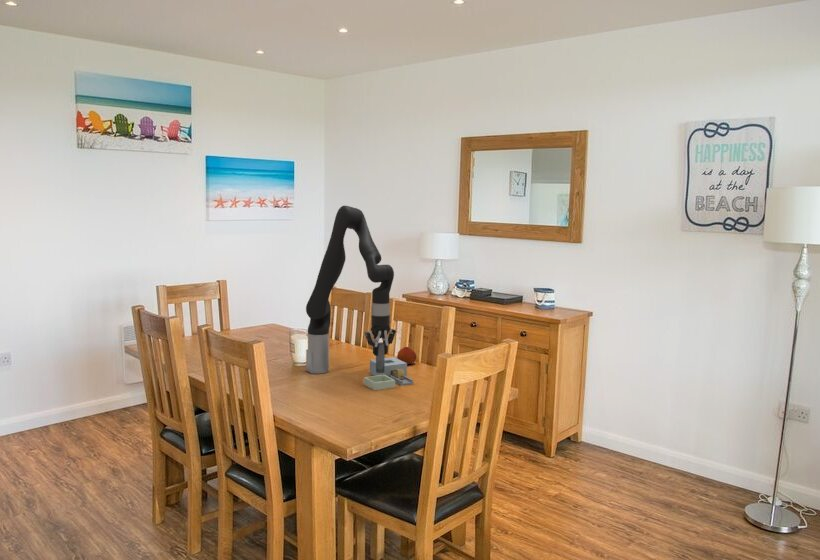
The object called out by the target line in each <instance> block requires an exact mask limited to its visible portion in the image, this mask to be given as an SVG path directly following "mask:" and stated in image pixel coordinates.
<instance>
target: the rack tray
mask: <svg viewBox="0 0 820 560" xmlns="http://www.w3.org/2000/svg"><path fill="white" fill-rule="evenodd" d="M363 385H364V386H366V387H368V388H369V389H371V390H372V391H380V390H386V389H393V388H396V383H395V380H394V379H392V378H390V377H388V376H386V375H377V376H374V375H371V376H364V377H363Z"/></svg>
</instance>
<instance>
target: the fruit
mask: <svg viewBox="0 0 820 560" xmlns="http://www.w3.org/2000/svg"><path fill="white" fill-rule="evenodd" d="M396 356H397V357H396V358H397V359H399V360H401V361H403V362H405V363H407V365H410V364H413V363H414V362H416V360H417V353H416V352H415V351H414V350H413V349H412V348H410V347H408V346H405V347H403V348H401V349H400V350H398V352H397V355H396Z"/></svg>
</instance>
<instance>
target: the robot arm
mask: <svg viewBox="0 0 820 560" xmlns="http://www.w3.org/2000/svg"><path fill="white" fill-rule="evenodd" d="M334 218H335V219H334V221H333V225H332V231H331V234H330V238H329V242H328V245H327V247H326V250H325V254H324V255H323V259H322V261H321V264H320V268H319V271H318V274H317V278H316V282H315V285H314V288H313V290H312V292H311V295H310V297H309V299H308V301H307V303H306V306H305V312H306V315H307V316H308V317H309V318H310V319H309V324H308V326H307V349H306V350H305V355H306V356H305V362H306V363H305V368H306V369H305V371H307V372H308V373H310V374H317V375H318V374H325V373H328V372H329V369H330V362H329V361H330V357H329V356H330V349H329V348H330V327H331V314H332V312H331V309H332V307H331V303H330V300H329V299H330V298H329V297H330V296H331V292H332V290H333V289H334V286H335V285H336V284H337V282H338V280H339V278H340V276H341V274H342V271H343V268H344V266H345V262H346V250H345V244H344V243H345V241H344V240H345V236H346V231H347V229H350V230H353V231H354V232H355V233H356V235H357V237H358V251H359V253H360V256H362V258H363V261H364V262H365V267H366V272H367V273H366V274H367V277H368V280H370V281H371V282H372V283H375V284H376V283H377V284H379V283H380V285H379V286H378V287H375V288H373V289H372V292H371V293H372V295H371V316H370V317H371V318H370V319H371V320H370V321H371V323H370V325H371V328H370V329H369V330H368V331H365V332H364V335H365V339H366V341H367V344H368V345H369V346H371V347H372V354H373V356H375V357H376V356H378V347H377V345H378V342H380V339H381V340H382V342H383V343H385V356H386V355H387V354H388V352H389V345H390V344H393V342H394V339H395V336H396V332H397V330H396V329H393V328H391V327H390V324H391V323H390V322H391V318H390V317H391V308H390V307H391V306H390V292H391V289H392V285H393V281H394V278H395V272H394V268H393V266H391V264H380V263H381V261H382V255H381V253H380V251H379V249H378V247H377V246H376V244H375V242H374V239H373V238H372V235H371V232H370V229H369V226H368V223H367V219H366V217H365V214H364V212H363V211H362V210H361V209H359V208H357V207H353V206H349V205H342V206H340V207H339V208H338V209H337V212H336V214H335V217H334Z"/></svg>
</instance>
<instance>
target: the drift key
mask: <svg viewBox="0 0 820 560" xmlns="http://www.w3.org/2000/svg"><path fill="white" fill-rule="evenodd" d="M391 375H392V376H394V377H396V378H398V379H404V369H396V370H393V371H391Z"/></svg>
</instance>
